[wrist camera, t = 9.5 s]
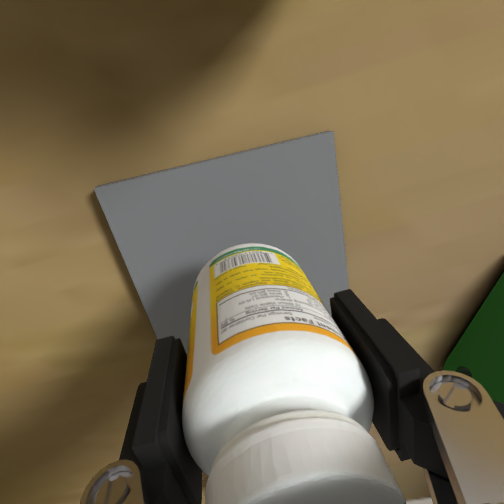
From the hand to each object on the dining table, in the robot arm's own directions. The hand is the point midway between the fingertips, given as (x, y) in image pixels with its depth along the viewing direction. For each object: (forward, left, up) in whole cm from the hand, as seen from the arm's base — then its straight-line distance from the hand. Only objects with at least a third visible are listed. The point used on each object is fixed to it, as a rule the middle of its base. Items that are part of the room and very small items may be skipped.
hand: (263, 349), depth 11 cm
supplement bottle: (0, 0, -4) cm, 4 cm away
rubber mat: (0, 0, -8) cm, 8 cm away
